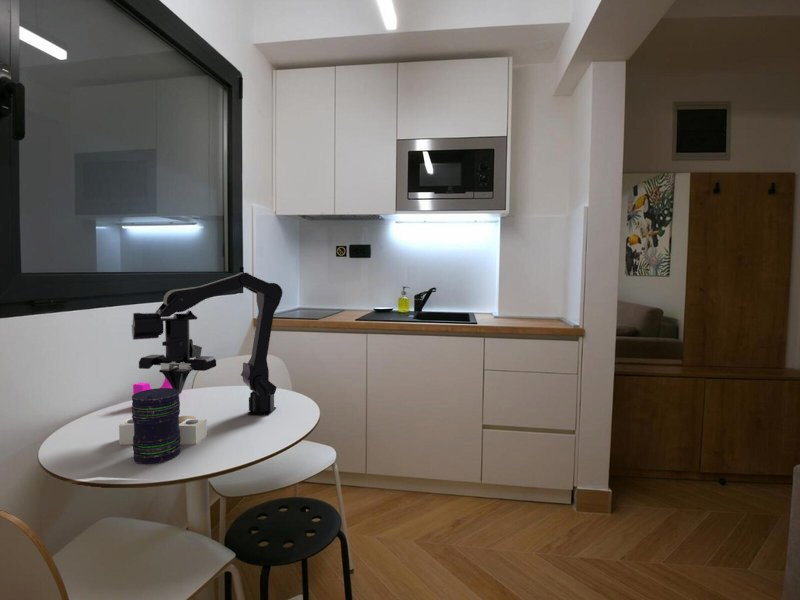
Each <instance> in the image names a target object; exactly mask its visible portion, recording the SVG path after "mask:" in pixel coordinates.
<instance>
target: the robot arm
mask: <svg viewBox="0 0 800 600" xmlns="http://www.w3.org/2000/svg"><path fill="white" fill-rule="evenodd" d="M241 288H244V289H246V290H248V291H250V292H252V293H254V294H256V305H257V309H258V310H257V311H258V312H257V319H256V326H255V332H254V336H253V337H254V338H253V344H252V351H251V356H250V359H249V360H248V362H243V363H242V371H241V374H240V376H241V377H242V382H243V383H244V384H245V385H246V386H247V387H248V388H249V389H250V391H251V392H250V393H249V394H250V397H248V411H249V412H247V415H248V416H249V415H250V416H252V415H253V416H270V415H271V414H272V413H273V412H274V411H276V409H277V407H276V406H275V394H276V391H277V386H276V385H275V384H274V383H272V382H271V381H270V379H269V378H270V377H269V376H270V372H269V371H270V370H269V366H268V353H269V346H270V341H271V340H270V339H271V336H272V335H271V334H272V329H273V321H274V317H275V316H274V315H275V313H276V311H277V309H278V307H279V306H280V303H281V299H282V297H283V288H282V287H281V286H280V285H279V284H278V283H275V282H267V281H265V280H263V279H260V278H258V277H256V276H254V275H252V274H250V273H249V272H242V271H241V272H239V273H237V274H235V275H234V274H233V275H231V276H228V277H225V278H221V279H219V280H218V279H217V280H215V281H212V282H209V283H206V284H202V285H199V286H191V287H186V288H185V287H184V288H177V289H171V290H169V291H167V292H166V293H165V295H164V296H163V300H162V301H163V303H162V304H161V305H160V306H159V307H158V308H157V309H156V311H154V312H145V313H144V312H143V313H142V312H133V313H132V324H131V336H132V341H133V340H134V341H135V340H137V341H138V340H148V339H158V338H160V336H162V335H163V334H164V332H165V341H162V346H164V347H165V355H164V354H149V355H147V356H141V358H140V359H139V361H138V369H141V370H143V369H145V370H149V369H151V368H152V367H153V366H160V369H159V370H158V372H159V373H162V375H164V377H166V378H167V380H168V381H169V383H170V385H171V386H172V388H174V389H178V390H179V395H181V393H182V391H183V388H184V387H185V384H186V382H187V381H186V380H187V378H188V376H189V374H190V373H191V371H196V372H197V371H198V372H201V371H202V372H205V371H209V370H211V369H213V368H215V367H217V360H216V358H215V357H214V356H209V355H207V356H205V355H202V350H203V346H199V345H196V344H194V341H193V339H192V338H190V320H191V321H192V320H193V321H194V320H198V316H196V315H195V314H194V313H193V312H192V310H189V309H191V308H193V307H195V306H197V305H198V304H199V303H202V302H203V301H206V300H207V299H210V298H213V297H217V296H219V295H222V294H225V293H229V292H232V291H235V290H238V289H241ZM185 311H187V312H186V313H183V312H185ZM172 315H173V316H172ZM171 316H172V317H171ZM164 327H165V329H164ZM164 330H165V331H164Z"/></svg>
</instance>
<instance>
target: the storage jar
mask: <svg viewBox="0 0 800 600" xmlns="http://www.w3.org/2000/svg"><path fill="white" fill-rule="evenodd" d="M131 401H132V402H131V405H132V406H131V413H132V414H131V415H132V416H131V419H133V421H134V436H133V444H132V452H133V462H134V463H135V464H136V465H142V466H144V465H145V466H150V465H158V464H163V463H166V462H170V461H171V460H173V459H175V458H177V457H178V456H179V455H180V454H181V448H180V447H181V444H180V442H181V436H180V429H179V417H180V416H179V415H180V414H181V413H180V412H181V410H180V408H181V407H180V406H181V401H180V394H179V390H178V389H174V388H151V389H150V390H145V391H141V392H138V393H135V394H134V395H133V394H132V396H131Z"/></svg>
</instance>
